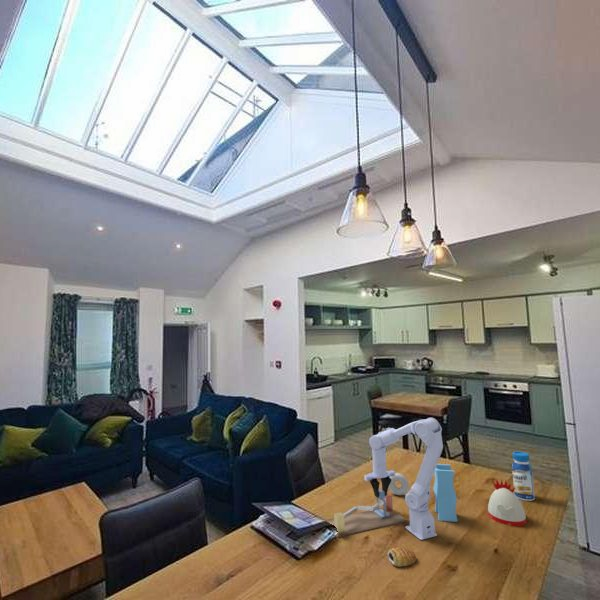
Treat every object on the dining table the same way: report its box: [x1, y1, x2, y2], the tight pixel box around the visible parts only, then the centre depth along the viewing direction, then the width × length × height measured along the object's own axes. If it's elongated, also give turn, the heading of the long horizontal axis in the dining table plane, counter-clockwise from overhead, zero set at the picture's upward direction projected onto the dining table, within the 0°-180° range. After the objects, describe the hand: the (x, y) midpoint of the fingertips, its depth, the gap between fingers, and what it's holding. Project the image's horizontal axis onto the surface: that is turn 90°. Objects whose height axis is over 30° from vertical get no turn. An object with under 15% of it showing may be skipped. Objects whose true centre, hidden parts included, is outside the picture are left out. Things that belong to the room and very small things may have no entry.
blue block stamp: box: [374, 489, 390, 519], centre depth 149 cm, size 4×6×10 cm, turn 20°
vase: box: [432, 463, 458, 523], centre depth 148 cm, size 8×8×20 cm
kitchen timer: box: [487, 478, 527, 527], centre depth 146 cm, size 14×14×15 cm
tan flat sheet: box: [324, 507, 408, 539], centre depth 144 cm, size 13×32×1 cm, turn 110°
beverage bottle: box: [511, 451, 536, 502], centre depth 164 cm, size 8×8×20 cm
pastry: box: [387, 547, 417, 568], centre depth 118 cm, size 9×7×4 cm
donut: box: [388, 472, 410, 496], centre depth 169 cm, size 10×4×10 cm, turn 68°
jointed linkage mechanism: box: [333, 492, 394, 535], centre depth 144 cm, size 5×32×6 cm, turn 123°
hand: (380, 495), depth 149 cm, fingers open, 3 cm apart
